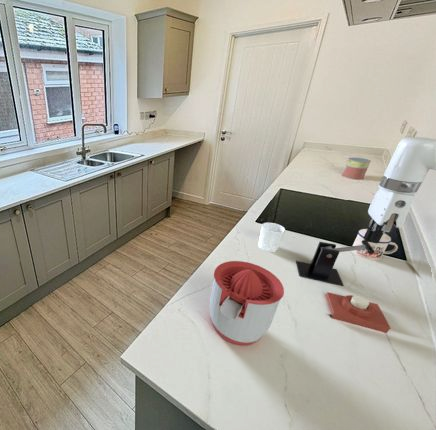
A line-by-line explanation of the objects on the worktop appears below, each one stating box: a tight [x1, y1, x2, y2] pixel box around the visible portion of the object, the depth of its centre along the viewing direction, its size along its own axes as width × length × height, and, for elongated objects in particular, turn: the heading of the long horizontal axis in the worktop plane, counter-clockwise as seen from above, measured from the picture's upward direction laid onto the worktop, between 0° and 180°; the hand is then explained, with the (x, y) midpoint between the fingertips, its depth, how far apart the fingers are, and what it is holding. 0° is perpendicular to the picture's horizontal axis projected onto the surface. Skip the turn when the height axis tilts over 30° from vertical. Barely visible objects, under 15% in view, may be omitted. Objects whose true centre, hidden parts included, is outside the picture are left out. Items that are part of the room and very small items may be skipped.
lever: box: [321, 240, 375, 254], centre depth 83 cm, size 12×6×2 cm, turn 64°
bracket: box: [295, 241, 345, 287], centre depth 88 cm, size 12×9×12 cm
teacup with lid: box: [350, 228, 399, 261], centre depth 97 cm, size 12×9×12 cm
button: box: [350, 295, 370, 309], centre depth 73 cm, size 4×4×2 cm
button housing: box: [325, 291, 391, 334], centre depth 74 cm, size 12×9×4 cm
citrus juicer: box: [209, 260, 285, 347], centre depth 67 cm, size 16×17×20 cm
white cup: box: [257, 222, 286, 253], centre depth 103 cm, size 8×8×10 cm
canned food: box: [342, 157, 372, 180], centre depth 178 cm, size 11×11×12 cm
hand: (370, 241), depth 80 cm, fingers closed
